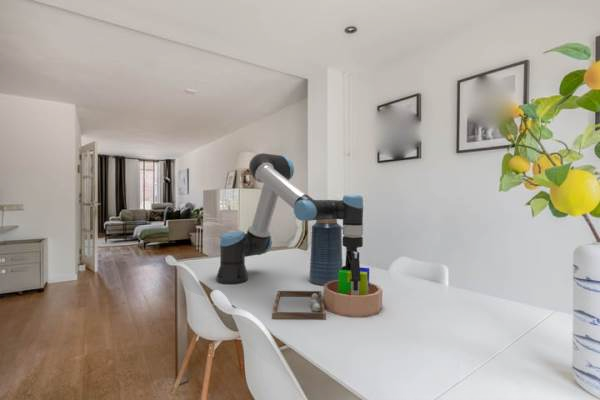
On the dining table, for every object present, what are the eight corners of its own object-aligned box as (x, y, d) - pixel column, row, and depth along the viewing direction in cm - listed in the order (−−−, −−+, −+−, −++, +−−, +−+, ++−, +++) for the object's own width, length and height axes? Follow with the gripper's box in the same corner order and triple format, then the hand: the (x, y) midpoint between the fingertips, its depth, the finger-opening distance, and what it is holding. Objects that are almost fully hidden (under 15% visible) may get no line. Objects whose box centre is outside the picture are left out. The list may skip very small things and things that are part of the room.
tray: (277, 295, 124) (277, 290, 124) (321, 295, 124) (321, 291, 124) (272, 318, 100) (272, 313, 100) (325, 319, 100) (325, 313, 100)
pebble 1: (311, 299, 120) (311, 292, 119) (318, 299, 119) (318, 292, 119) (311, 302, 116) (311, 294, 116) (319, 302, 116) (319, 294, 116)
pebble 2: (310, 303, 113) (308, 299, 111) (317, 299, 113) (315, 295, 112) (313, 310, 111) (311, 306, 109) (320, 306, 111) (318, 302, 109)
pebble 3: (312, 309, 108) (312, 301, 108) (320, 309, 108) (320, 301, 108) (312, 313, 106) (312, 304, 105) (320, 313, 105) (320, 304, 105)
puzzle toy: (369, 293, 116) (369, 268, 116) (365, 302, 106) (366, 274, 106) (343, 290, 119) (343, 265, 119) (338, 298, 110) (338, 271, 110)
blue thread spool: (348, 280, 148) (348, 216, 148) (333, 288, 135) (334, 218, 135) (319, 275, 157) (319, 215, 157) (303, 282, 143) (303, 216, 143)
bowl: (322, 296, 124) (322, 279, 124) (373, 296, 124) (373, 279, 124) (326, 316, 102) (326, 296, 102) (388, 317, 102) (388, 296, 102)
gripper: (338, 232, 125) (338, 284, 125) (347, 240, 101) (347, 304, 101) (356, 232, 125) (356, 284, 125) (369, 240, 101) (369, 304, 101)
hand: (352, 293), depth 113 cm, fingers closed on puzzle toy, 12 cm apart
